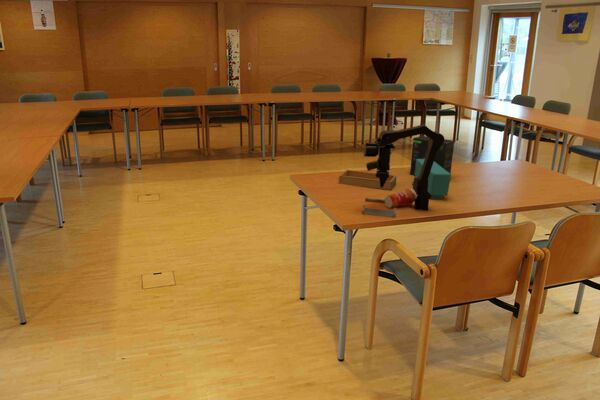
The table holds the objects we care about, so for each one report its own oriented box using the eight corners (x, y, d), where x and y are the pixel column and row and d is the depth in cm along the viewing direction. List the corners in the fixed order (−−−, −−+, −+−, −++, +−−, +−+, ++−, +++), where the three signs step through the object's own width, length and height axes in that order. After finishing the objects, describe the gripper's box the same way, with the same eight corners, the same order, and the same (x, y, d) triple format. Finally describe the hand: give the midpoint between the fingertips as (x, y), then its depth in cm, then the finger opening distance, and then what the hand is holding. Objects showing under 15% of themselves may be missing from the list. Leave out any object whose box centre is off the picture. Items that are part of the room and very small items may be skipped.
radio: (449, 200, 279) (453, 174, 274) (430, 200, 278) (433, 173, 274) (430, 183, 311) (433, 158, 307) (413, 182, 310) (415, 158, 306)
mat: (395, 211, 259) (396, 208, 258) (395, 217, 250) (396, 213, 250) (363, 208, 261) (363, 204, 261) (361, 214, 253) (361, 210, 252)
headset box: (408, 174, 328) (413, 134, 320) (418, 171, 337) (422, 132, 329) (441, 182, 314) (447, 140, 306) (450, 178, 323) (455, 137, 315)
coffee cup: (383, 191, 264) (406, 185, 271) (383, 206, 268) (405, 200, 275) (394, 197, 258) (417, 191, 265) (393, 212, 261) (416, 205, 268)
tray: (338, 184, 303) (339, 174, 301) (346, 177, 317) (346, 168, 315) (390, 191, 293) (391, 181, 291) (395, 184, 306) (396, 175, 305)
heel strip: (395, 203, 271) (396, 200, 270) (395, 204, 269) (396, 201, 269) (365, 200, 273) (365, 197, 273) (365, 201, 272) (365, 198, 272)
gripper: (369, 151, 265) (366, 180, 269) (366, 159, 247) (364, 191, 252) (391, 153, 263) (388, 182, 268) (390, 161, 245) (387, 193, 250)
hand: (381, 187), depth 259 cm, fingers closed
